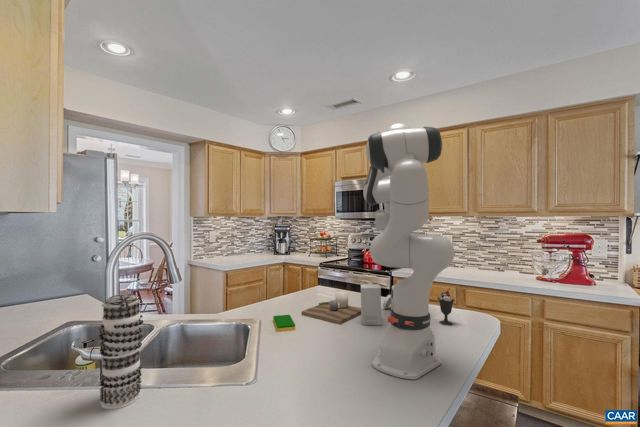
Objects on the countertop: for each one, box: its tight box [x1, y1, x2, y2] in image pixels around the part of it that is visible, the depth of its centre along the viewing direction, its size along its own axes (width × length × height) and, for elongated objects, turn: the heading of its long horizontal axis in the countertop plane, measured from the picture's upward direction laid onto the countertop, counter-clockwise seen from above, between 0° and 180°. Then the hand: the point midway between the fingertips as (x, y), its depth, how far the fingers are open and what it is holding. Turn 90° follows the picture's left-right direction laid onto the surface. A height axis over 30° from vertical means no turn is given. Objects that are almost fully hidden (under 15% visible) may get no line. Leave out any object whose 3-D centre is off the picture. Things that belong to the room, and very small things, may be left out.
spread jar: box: [382, 285, 394, 312], centre depth 149 cm, size 12×11×12 cm
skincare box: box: [360, 283, 382, 326], centre depth 132 cm, size 8×7×16 cm
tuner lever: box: [329, 290, 349, 310], centre depth 148 cm, size 11×6×6 cm, turn 143°
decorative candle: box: [98, 293, 144, 410], centre depth 78 cm, size 9×9×25 cm
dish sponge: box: [272, 314, 296, 333], centre depth 130 cm, size 7×14×2 cm, turn 15°
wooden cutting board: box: [301, 301, 361, 325], centre depth 145 cm, size 21×21×2 cm
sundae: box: [437, 287, 456, 326], centre depth 132 cm, size 7×7×15 cm
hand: (398, 238), depth 142 cm, fingers open, 8 cm apart
